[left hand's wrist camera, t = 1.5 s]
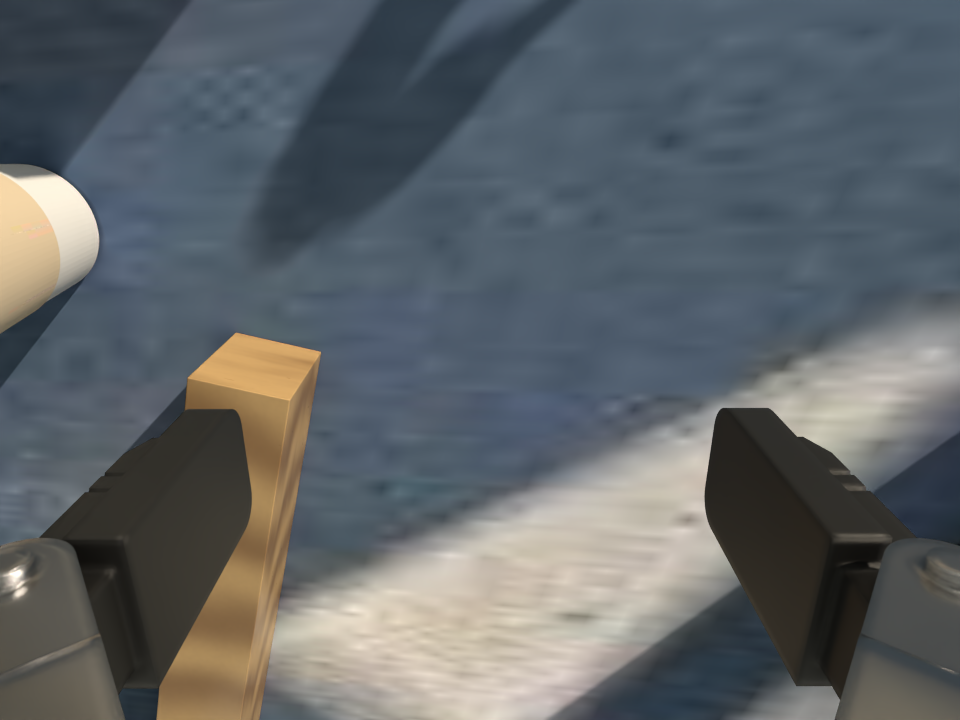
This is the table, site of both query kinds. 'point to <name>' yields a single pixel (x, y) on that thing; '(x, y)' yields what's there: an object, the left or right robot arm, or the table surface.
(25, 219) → the coffee cup
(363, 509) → the table surface
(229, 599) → the post
